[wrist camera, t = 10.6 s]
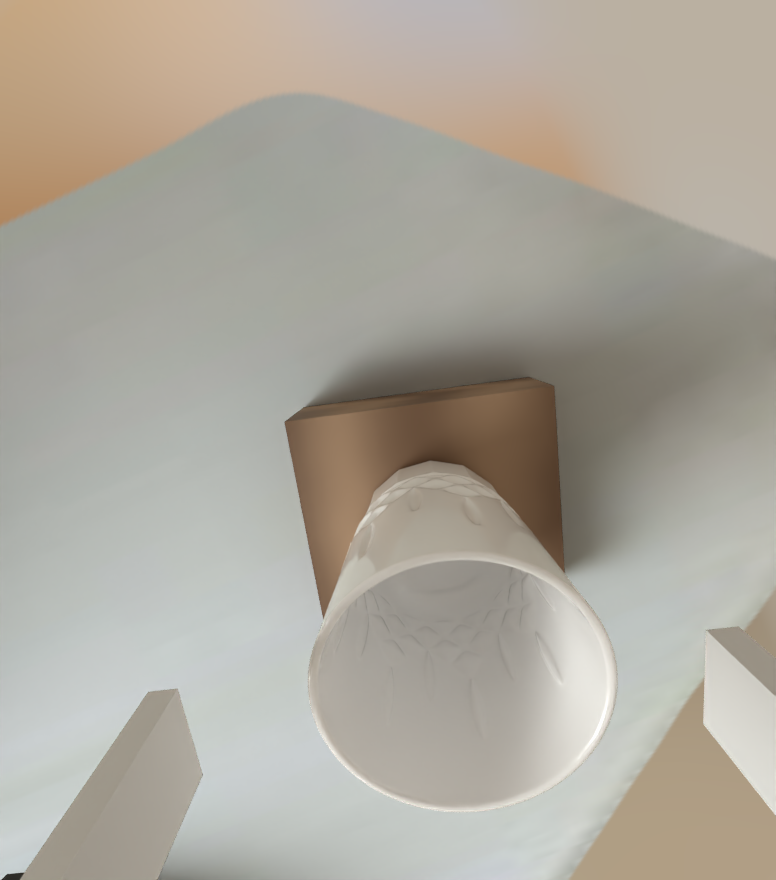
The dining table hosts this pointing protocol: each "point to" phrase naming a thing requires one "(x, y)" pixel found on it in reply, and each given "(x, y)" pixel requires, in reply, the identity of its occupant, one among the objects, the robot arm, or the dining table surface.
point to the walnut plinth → (424, 458)
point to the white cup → (457, 651)
